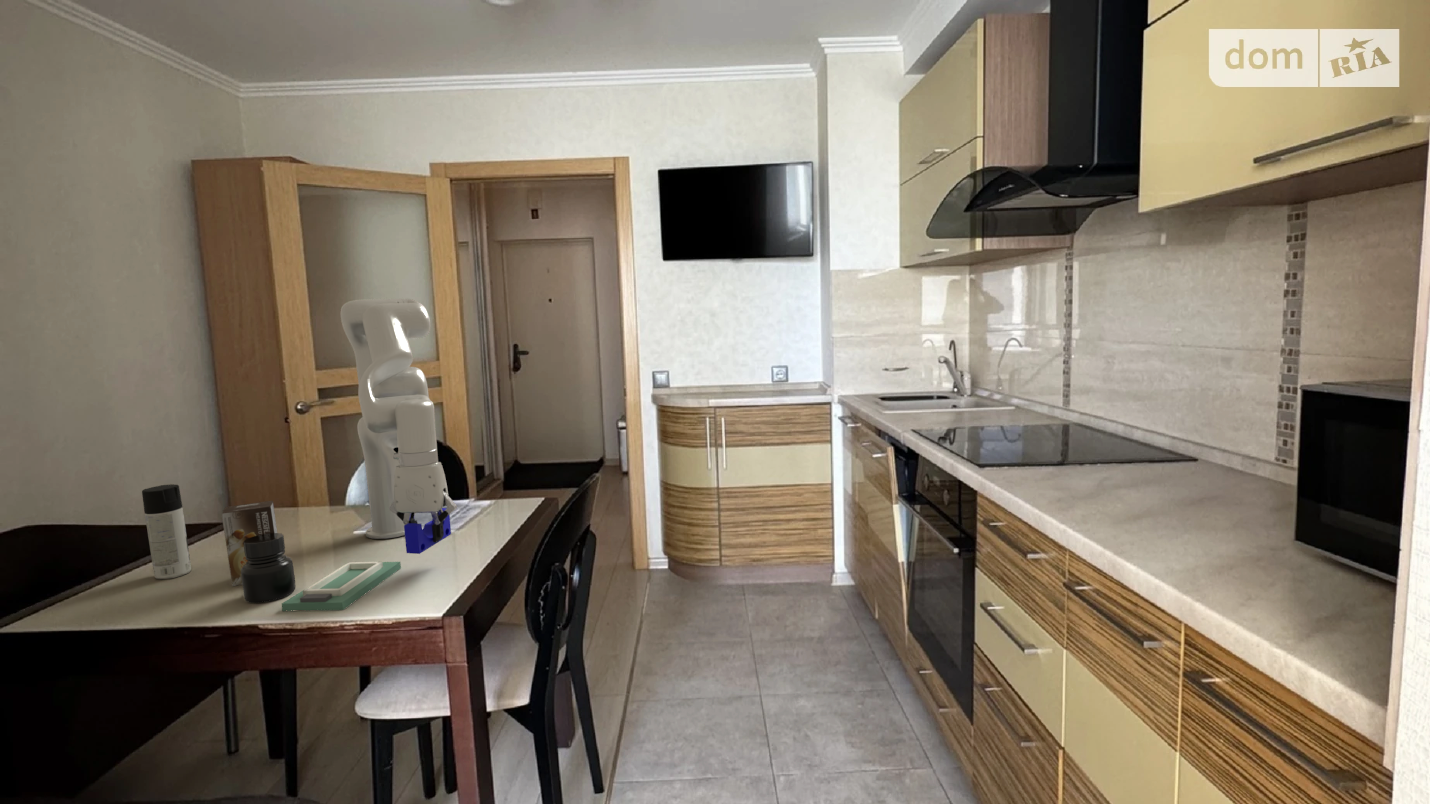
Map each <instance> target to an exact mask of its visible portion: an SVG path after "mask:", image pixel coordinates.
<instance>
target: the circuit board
mask: <svg viewBox="0 0 1430 804" xmlns="http://www.w3.org/2000/svg"><path fill="white" fill-rule="evenodd" d="M401 568H402V566H401V561H357V562H356V561H355V562H351V561H350V562H347V563H345V564H343V565H342V566H340V567H338V568H336V569H335V570H333V571H332V572H330V573H329V574H327V575H326V576H324V577H322V578H321V579H319V580H317V581H316V582H314V583H312V584H311V585H309V586H307V587H306V588H304V589H303V590H301V591H300V592H298V593H296V594H295V595H293V596H291V597H289V598H288V599H286V600H285V601H284V602H282V603H281V611H282V612H294V611H293V610H306V611H307V610H309V611H310V610H319V611H344V610H345V609H347V608H349V606H351V605H352V604H354V603H355V602H356V601H358V600H359V599H361V598H362V597H363V596H365V595H366V594H367V593H369V592H370V591H371V590H373V589H374V588H376V587H377V586H378V585H380V584H382V583H383V582H384V581H385V580H387V579H388V578H389V577H391V576H392V575H394V574H395V573H396V572H398V571H399V570H401ZM397 570H398V571H397ZM393 573H394V574H393ZM383 580H384V581H383ZM382 581H383V582H382ZM379 583H380V584H379ZM375 586H376V587H375ZM372 588H373V589H372ZM369 590H370V591H369ZM368 591H369V592H368ZM365 593H366V594H365ZM364 594H365V595H364ZM361 596H362V597H361ZM355 600H356V601H355ZM354 601H355V602H354ZM353 602H354V603H353ZM351 603H352V604H351ZM350 604H351V605H350ZM346 607H347V608H346ZM286 610H287V611H286ZM291 610H292V611H291ZM306 611H305V612H306ZM307 612H308V611H307ZM310 612H311V611H310Z"/></svg>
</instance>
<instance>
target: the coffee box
mask: <svg viewBox="0 0 1430 804" xmlns="http://www.w3.org/2000/svg"><path fill="white" fill-rule="evenodd" d="M221 519H222V526H223V532H224V539H225V546H226V552H227V561H228V567H229V571H230V578H231V579H230V580H231V586H232V587H235V586H236V587H237V586H241V585H242V577H241V569H242V567H243V566H244V565H245V564H246V562H247V561H248V560H246V556H245V552H244V544H243V542H244V540H246V539H248V538H250V537H254V536H257V535H262V534H269V533H278V529H277V521H276V513H275V506H274V501H273V500H269V501H261V502H260V501H259V502H254V503H253V502H252V503H246V504H245V503H244V504H239V505H230V506H225V507H224V508H223V510H222V513H221Z"/></svg>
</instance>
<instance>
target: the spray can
mask: <svg viewBox="0 0 1430 804" xmlns="http://www.w3.org/2000/svg"><path fill="white" fill-rule="evenodd" d="M141 496H142V503H143V510H144V518H145V524H146V529H147V537H148V544H149V550H150V555H151V556H150V557H151V562H152V563H151V565H152V569H153V570H152V571H153V576H154V578H155V579H157V580H168V579H169V580H170V579H174V578H179V577H182V576H185V575H187V574H189V573H190V572H191V570H192V566H191V565H192V564H191V557H190V550H189V544H188V543H189V542H188V537H187V536H188V535H187V529H186V521H185V515H184V509H183V507H184V506H183V503H182V496H181V491H180V486H179V485H178V484H171V483H170V484H163V485H156V486H152V487H147V488H144V489H143V490H141Z"/></svg>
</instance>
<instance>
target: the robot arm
mask: <svg viewBox="0 0 1430 804" xmlns="http://www.w3.org/2000/svg"><path fill="white" fill-rule="evenodd" d="M340 321H341V325H342V329H343V331H344V333H345V336H346V337H347V339H348V340H347V341H349V344H350V345H351V348H352V350H353V352H354V357H355V365H356V367H355V368H356V373H357V381H358V383H357V384H358V390H357V391H358V401H359V402H358V403H359V405H360V406H359V407H360V412H361V415H362V417H361V418H359V419H358V421H357V434H358V438H359V443H360V444H361V445H360V446H361V449H362V453H363V458H364V466H365V474H366V475H365V476H366V484H367V492H368V493H367V494H368V502H369V512H370V523H371V527H369V528H367V529H366V530H365V536H366V537H367V538H368V539H373V540H374V539H375V540H384V539H385V540H386V539H393V538H399V537H404V536H405V531H404V525H406V524H408V523H415V524H419V522H418V521H417V520H415V518H416V514H418V513H419V514H425V513H427V514H429V513H430V514H431V517H432V519H433V521H434V524H433V525H432V534H433V542H434V543H436V544H438V543H439V542H441V541H442V540H441V539H442V538H443V536H444V530H443V521H444V520H445V518H446V517H447V516H448V515H450V514H452V512H454V511H455V510H457V508H458V505H457V504H456V503H455V501H453V499H452V498H451V497H450V496H449V491H448V485H447V480H446V474H445V471H444V468H443V465H442V464H443V463H442V462H441V461H439V456H438V455H439V454H438V443H437V432H436V431H437V430H436V421H435V417H436V416H435V415H436V414H435V412H436V411H435V405H434V402H433V401H432V400H431V399H430V396H429V394H430V393H429V388H428V387H429V386H428V382H427V381H428V380H427V378H426V375H425V373H424V372H423V370H422V369H421V368H419V367H416V366H411V365H412V364H413V360H414V356H413V352H412V348H411V345H410V342H409V339H421V338H422V339H423V338H426V337H428V336H429V334H430V332H431V329H432V327H431V325H432V323H431V318H430V315H429V313H428V310H427V308H426V307H425V306H424V305H423V304H422V302H419V301H417V300H415V299H412V298H365V299H354V300H349V301H347V302H345V303H343V304H342V306H341V309H340ZM395 448H398V451H397V452H396V451H395V450H394V449H395ZM445 507H446V508H447V509H446V510H445V511H443V510H442V508H445ZM440 540H441V541H440ZM438 541H439V542H438ZM437 542H438V543H437Z"/></svg>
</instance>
